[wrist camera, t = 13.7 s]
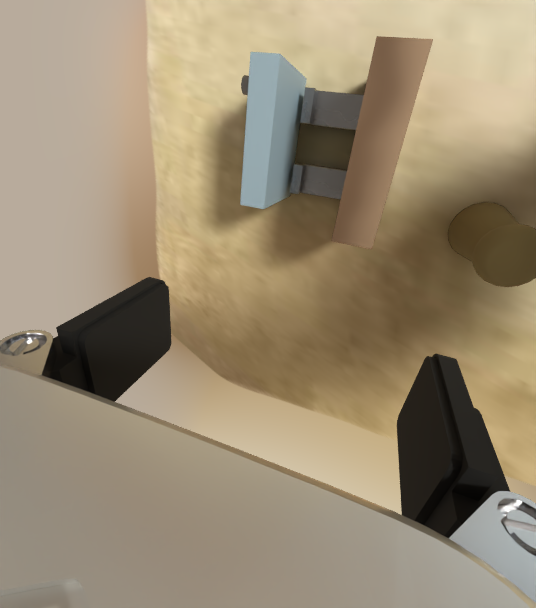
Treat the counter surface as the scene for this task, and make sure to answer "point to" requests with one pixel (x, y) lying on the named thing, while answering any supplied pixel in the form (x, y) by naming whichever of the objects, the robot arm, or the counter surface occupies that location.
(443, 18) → the counter surface
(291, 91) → the block
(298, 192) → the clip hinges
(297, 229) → the counter surface
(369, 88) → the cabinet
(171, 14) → the counter surface
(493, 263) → the brown rounded elongated piece
